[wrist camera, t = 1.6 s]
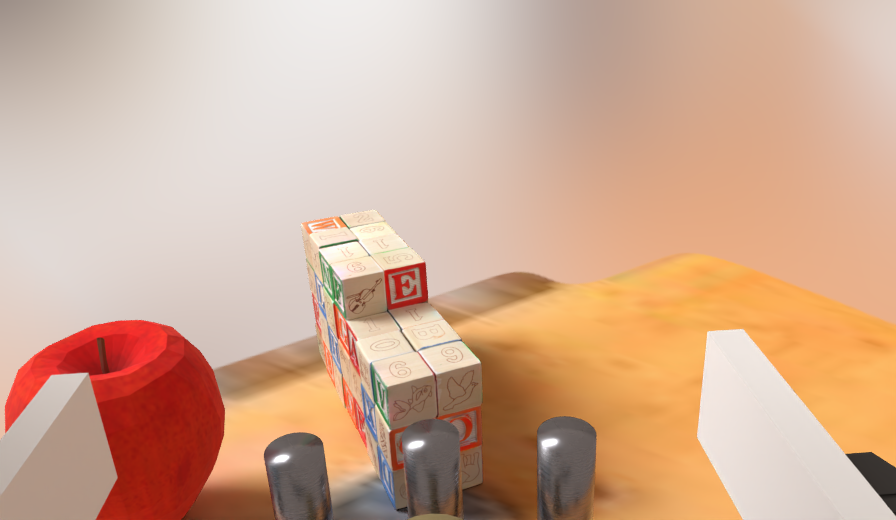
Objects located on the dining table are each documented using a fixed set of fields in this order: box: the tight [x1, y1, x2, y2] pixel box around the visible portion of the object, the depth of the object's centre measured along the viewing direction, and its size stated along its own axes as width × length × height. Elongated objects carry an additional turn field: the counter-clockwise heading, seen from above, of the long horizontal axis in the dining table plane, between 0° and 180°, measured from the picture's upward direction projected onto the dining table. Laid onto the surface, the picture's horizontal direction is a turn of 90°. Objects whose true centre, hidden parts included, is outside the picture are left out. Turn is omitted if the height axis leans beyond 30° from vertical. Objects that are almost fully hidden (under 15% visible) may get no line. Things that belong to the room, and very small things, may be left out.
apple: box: [5, 320, 225, 520], centre depth 45 cm, size 12×12×13 cm
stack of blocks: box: [301, 210, 483, 509], centre depth 55 cm, size 21×6×12 cm, turn 22°
